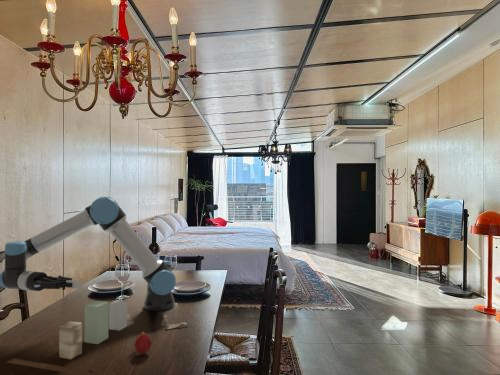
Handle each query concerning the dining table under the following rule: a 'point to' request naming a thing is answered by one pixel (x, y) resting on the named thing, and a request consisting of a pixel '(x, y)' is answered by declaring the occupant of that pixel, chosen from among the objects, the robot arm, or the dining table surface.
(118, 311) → the grey block
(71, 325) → the birch block
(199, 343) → the dining table surface
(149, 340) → the red pomegranate
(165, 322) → the jawbone
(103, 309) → the pale green block
